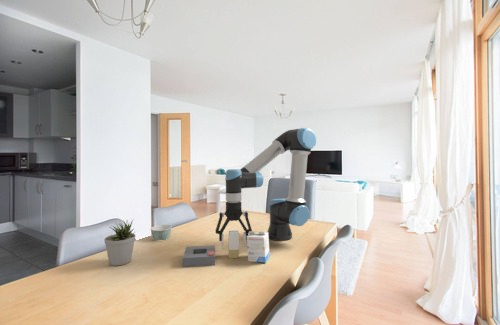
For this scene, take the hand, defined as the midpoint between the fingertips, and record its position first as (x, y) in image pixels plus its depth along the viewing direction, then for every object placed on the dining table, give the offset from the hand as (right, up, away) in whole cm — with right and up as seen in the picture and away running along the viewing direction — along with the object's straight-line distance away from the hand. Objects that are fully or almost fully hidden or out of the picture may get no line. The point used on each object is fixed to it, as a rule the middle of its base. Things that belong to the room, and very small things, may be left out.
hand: (233, 246), depth 121 cm
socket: (-16, -5, -4) cm, 17 cm away
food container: (-45, -4, +27) cm, 52 cm away
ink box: (+12, -5, -3) cm, 13 cm away
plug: (0, -5, 0) cm, 5 cm away
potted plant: (-51, -5, -8) cm, 52 cm away
